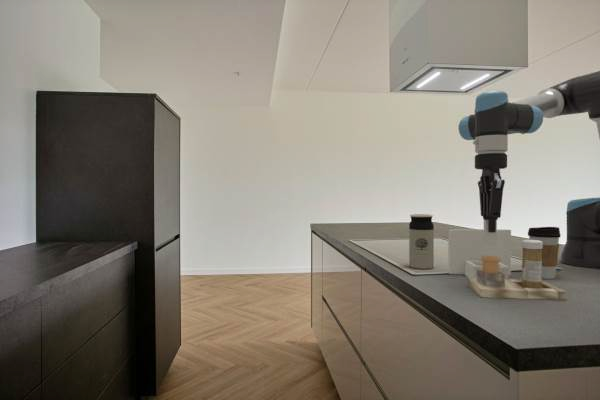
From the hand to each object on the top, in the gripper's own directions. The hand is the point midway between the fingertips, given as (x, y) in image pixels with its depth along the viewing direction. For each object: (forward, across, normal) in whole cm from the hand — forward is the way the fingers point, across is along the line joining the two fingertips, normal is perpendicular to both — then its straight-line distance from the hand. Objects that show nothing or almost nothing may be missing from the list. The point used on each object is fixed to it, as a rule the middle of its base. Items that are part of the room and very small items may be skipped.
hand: (490, 244), depth 100 cm
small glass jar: (+8, 0, 0) cm, 8 cm away
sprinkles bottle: (+12, 0, +10) cm, 16 cm away
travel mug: (+12, -31, -12) cm, 36 cm away
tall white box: (+12, -16, +4) cm, 21 cm away
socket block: (+12, 0, +6) cm, 13 cm away
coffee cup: (+12, -20, +22) cm, 32 cm away
